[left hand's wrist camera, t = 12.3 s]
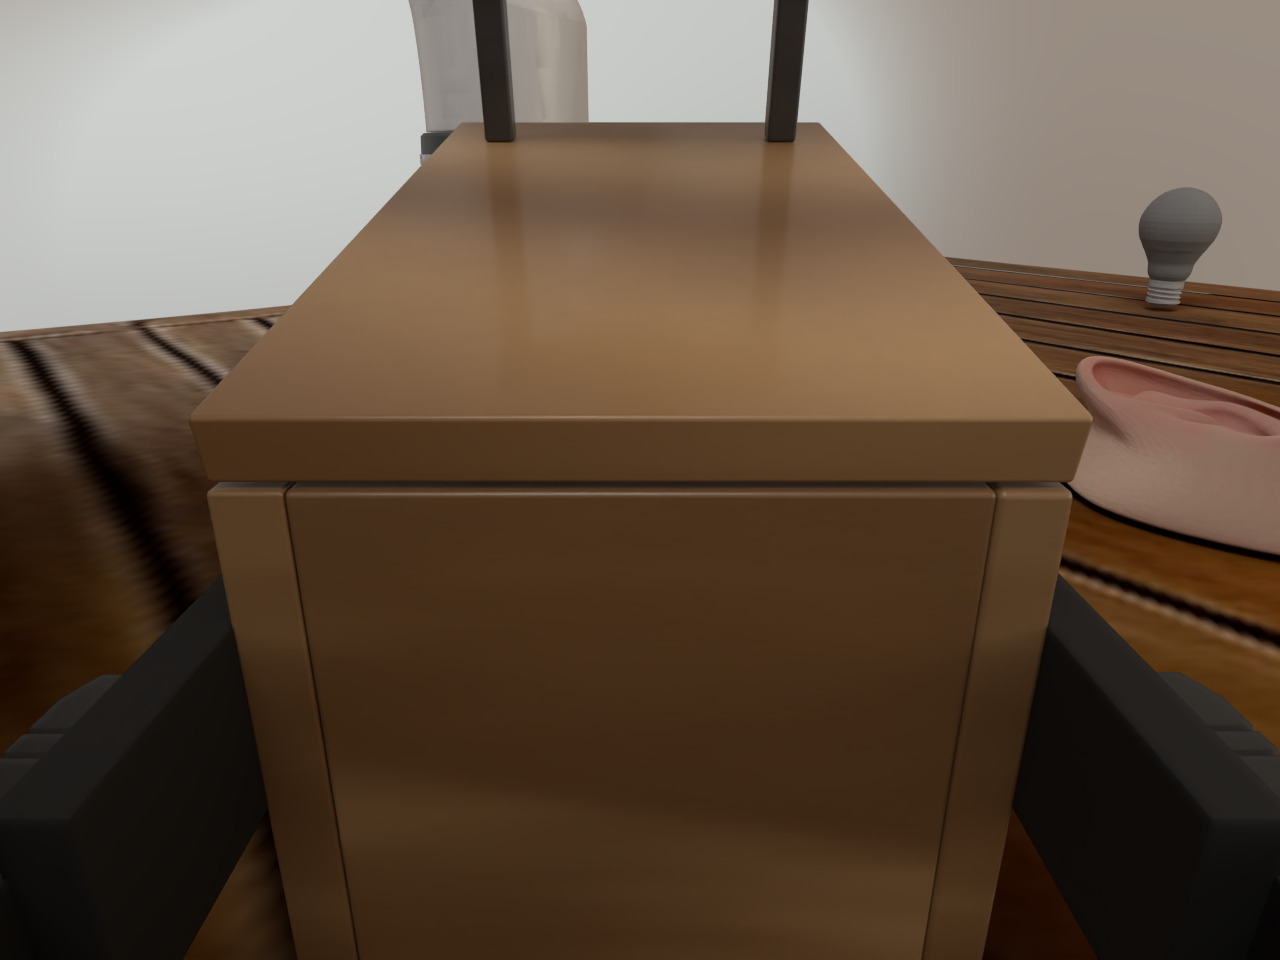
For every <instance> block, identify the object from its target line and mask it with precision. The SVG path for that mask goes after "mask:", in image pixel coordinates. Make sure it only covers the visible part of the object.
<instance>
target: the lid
mask: <svg viewBox="0 0 1280 960" xmlns="http://www.w3.org/2000/svg"><path fill="white" fill-rule="evenodd" d="M472 3H473V14H474V25H475V36H476V47H477V58H478V68H479V79H480V90H481V101H482V112H483V122H462V123H461V124H460V125H459V126H458V127H457V128H456V129H455V130H454V131H453V132H452V133H451V134H450V135H449V136H448V138H447V139H446V140H445V141H444V142H443V143H442V144H441V145H440V146H439V147H438V148H437V149H436V150H435V152H434V153H433V154H432V155H431V156H430V157H429V158H428V159H427V160H426V161H425V162H424V163H423V164H422V166H421V167H420V168H419V169H418V170H417V171H416V172H415V173H414V174H413V175H412V176H411V177H410V178H409V180H408V181H407V182H406V183H405V184H404V185H403V186H402V187H401V188H400V189H399V190H398V191H397V192H396V194H395V195H394V196H393V197H392V198H391V199H390V200H389V201H388V202H387V203H386V204H385V205H384V207H383V208H382V209H381V210H380V211H379V212H378V213H377V214H376V215H375V216H374V217H373V218H372V219H371V221H370V222H369V223H368V224H367V225H366V226H365V227H364V228H363V229H362V230H361V231H360V232H359V233H358V235H357V236H356V237H355V238H354V239H353V240H352V241H351V242H350V243H349V244H348V245H347V246H346V247H345V249H344V250H343V251H342V252H341V253H340V254H339V255H338V256H337V257H336V258H335V259H334V260H333V261H332V263H331V264H330V265H329V266H328V267H327V268H326V269H325V270H324V271H323V272H322V273H321V275H319V277H318V278H317V279H316V280H315V281H314V282H313V283H312V284H311V285H310V286H309V287H308V288H307V290H306V291H305V292H304V293H303V294H302V295H301V296H300V297H299V298H298V299H297V300H296V301H295V302H294V304H293V305H292V306H291V307H290V308H289V309H288V310H287V311H286V312H285V313H284V314H283V315H282V316H281V318H280V319H279V320H278V321H277V322H276V323H275V324H274V325H273V326H272V327H271V328H270V329H269V330H268V332H267V333H266V334H265V335H264V336H263V337H262V338H261V339H260V340H259V341H258V342H257V343H256V344H255V346H254V347H253V348H252V349H251V350H250V351H249V352H248V353H247V354H246V355H245V356H244V357H243V358H242V360H241V361H240V362H239V363H238V364H237V365H236V366H235V367H234V368H233V369H232V370H231V371H230V372H229V374H228V375H227V376H226V377H225V378H224V379H223V380H222V381H221V382H220V383H219V384H218V385H217V386H216V388H215V389H214V390H213V391H212V392H211V393H210V394H209V395H208V396H207V397H206V398H205V399H204V400H203V402H202V403H201V404H200V405H199V406H198V407H197V408H196V409H195V410H194V411H193V412H192V413H191V415H190V416H189V424H190V427H191V430H192V433H193V436H194V439H195V442H196V445H197V448H198V452H199V455H200V458H201V461H202V464H203V467H204V470H205V473H206V476H207V479H208V480H209V481H211V482H1071V481H1073V480H1074V478H1075V475H1076V472H1077V469H1078V466H1079V463H1080V459H1081V456H1082V453H1083V450H1084V447H1085V444H1086V441H1087V438H1088V435H1089V432H1090V429H1091V426H1092V423H1093V418H1092V415H1091V414H1090V413H1089V412H1088V411H1087V410H1086V409H1085V408H1084V407H1083V406H1082V405H1081V403H1080V402H1079V401H1078V400H1077V399H1076V398H1075V397H1074V396H1073V395H1072V394H1071V393H1070V392H1069V391H1068V389H1067V388H1066V387H1065V386H1064V385H1063V384H1062V383H1061V382H1060V381H1059V380H1058V379H1057V378H1056V377H1055V376H1054V374H1053V373H1052V372H1051V371H1050V370H1049V369H1048V368H1047V367H1046V366H1045V365H1044V364H1043V363H1042V362H1041V361H1040V359H1039V358H1038V357H1037V356H1036V355H1035V354H1034V353H1033V352H1032V351H1031V350H1030V349H1029V348H1028V347H1027V345H1026V344H1025V343H1024V342H1023V341H1022V340H1021V339H1020V338H1019V337H1018V336H1017V335H1016V334H1015V333H1014V332H1013V330H1012V329H1011V328H1010V327H1009V326H1008V325H1007V324H1006V323H1005V322H1004V321H1003V320H1002V319H1001V318H1000V316H999V315H998V314H997V313H996V312H995V311H994V310H993V309H992V308H991V307H990V306H989V305H988V304H987V303H986V301H985V300H984V299H983V298H982V297H981V296H980V295H979V294H978V293H977V292H976V291H975V290H974V289H973V287H972V286H971V285H970V284H969V283H968V282H967V281H966V280H965V279H964V278H963V277H962V276H961V275H960V274H959V272H958V271H957V270H956V269H955V268H954V267H953V266H952V265H951V264H950V263H949V262H948V261H947V260H946V259H945V257H944V256H943V255H942V254H941V253H940V252H939V251H938V250H937V249H936V248H935V247H934V246H933V245H932V244H931V242H930V241H929V240H928V239H927V238H926V237H925V236H924V235H923V234H922V233H921V232H920V231H919V230H918V228H917V227H916V226H915V225H914V224H913V223H912V222H911V221H910V220H909V219H908V218H907V217H906V216H905V215H904V213H903V212H902V211H901V210H900V209H899V208H898V207H897V206H896V205H895V204H894V203H893V202H892V201H891V199H890V198H889V197H888V196H887V195H886V194H885V193H884V192H883V191H882V190H881V189H880V188H879V187H878V186H877V184H876V183H875V182H874V181H873V180H872V179H871V178H870V177H869V176H868V175H867V174H866V173H865V172H864V170H863V169H862V168H861V167H860V166H859V165H858V164H857V163H856V162H855V161H854V160H853V159H852V158H851V157H850V155H849V154H848V153H847V152H846V151H845V150H844V149H843V148H842V147H841V146H840V145H839V144H838V143H837V141H836V140H835V139H834V138H833V137H832V136H831V135H830V134H829V133H828V132H827V131H826V130H825V129H824V128H823V126H822V125H821V124H820V123H797V118H798V107H799V96H800V86H801V75H802V65H803V53H804V43H805V32H806V22H807V11H808V0H774V12H773V25H772V38H771V52H770V66H769V78H768V92H767V105H766V119H765V123H606V122H605V123H602V122H601V123H598V122H597V123H596V122H595V123H594V122H593V123H590V122H515V111H514V98H513V84H512V70H511V57H510V43H509V30H508V16H507V2H506V0H472Z"/></svg>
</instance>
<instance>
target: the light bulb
mask: <svg viewBox="0 0 1280 960" xmlns="http://www.w3.org/2000/svg"><path fill="white" fill-rule="evenodd" d="M1221 224H1222V215H1221V211H1220V208H1219V206H1218V204H1217V202H1216V201H1215V200H1214V199H1213V197H1211V196H1210V195H1209V194H1208V193H1206V192H1204V191H1202V190H1199V189H1195V188H1178V189H1174V190H1171V191H1168V192H1165V193H1163V194H1162V195H1160V196H1159V197H1158V198H1156V199H1155V200H1154V201H1153V202H1152V203H1151V204H1150V205H1149V206H1148V207H1147V208H1146V210H1145V211H1144V213H1143V214H1142V216H1141V219H1140V223H1139V237H1140V240H1141V243H1142V246H1143V248H1144V250H1145V253H1146V256H1147V259H1148V275H1149V277H1150V279H1149V280H1150V281H1149V286H1151V287H1149V288H1148V289H1149V290H1150V291H1149V292H1147V294H1148V295H1149V296H1147V297H1146V300H1145V301H1146V302H1148V303H1150V304H1152V305H1153V306H1154V307H1157V308H1170V307H1172V306H1174V305H1177V304H1179V303H1180V301H1179V300H1178V299H1179V298H1181V297H1179V295H1180V294H1181V293H1182V292H1180V290H1181V289H1183V287H1184V283H1185V280H1186V279H1187V278H1188V277H1189V275H1190V274H1191V272H1192V269H1193V266H1194V264H1195V263H1196V261H1197V260H1198V259H1199V257H1200V256H1201V255H1202V254H1203V253H1204V252H1205V251H1206V250H1207V248H1208V247H1209V246H1210V245H1211V244H1212V243H1213V241H1214V240H1215V238H1216V237H1217V235H1218V233H1219V230H1220V228H1221Z"/></svg>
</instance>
